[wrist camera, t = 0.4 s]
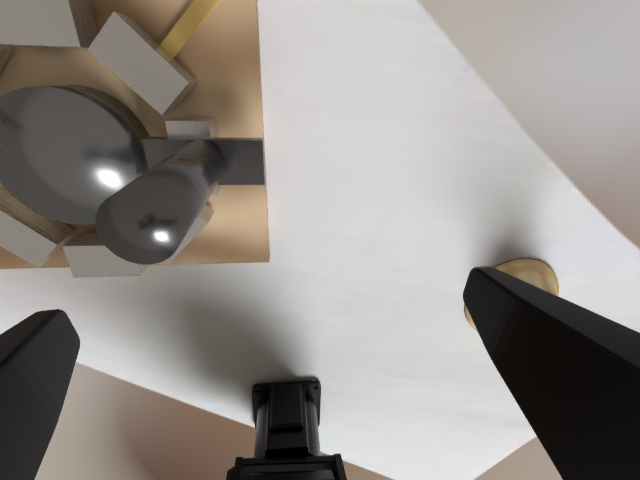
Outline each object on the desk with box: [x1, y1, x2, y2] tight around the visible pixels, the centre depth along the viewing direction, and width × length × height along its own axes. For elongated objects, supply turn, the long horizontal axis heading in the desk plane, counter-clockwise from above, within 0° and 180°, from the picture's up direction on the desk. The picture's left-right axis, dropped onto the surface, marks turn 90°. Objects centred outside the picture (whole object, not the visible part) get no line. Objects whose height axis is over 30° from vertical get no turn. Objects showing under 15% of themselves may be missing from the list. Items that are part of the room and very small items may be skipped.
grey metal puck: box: [0, 85, 150, 225], centre depth 18 cm, size 7×7×3 cm
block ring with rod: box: [0, 0, 266, 277], centre depth 14 cm, size 15×18×11 cm
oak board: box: [0, 0, 270, 269], centre depth 20 cm, size 16×19×1 cm
